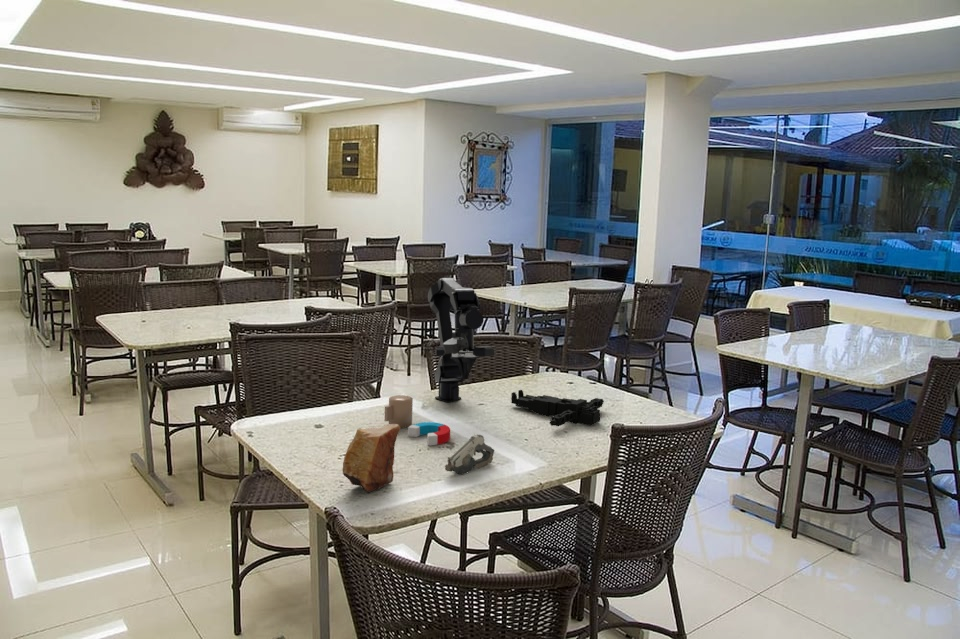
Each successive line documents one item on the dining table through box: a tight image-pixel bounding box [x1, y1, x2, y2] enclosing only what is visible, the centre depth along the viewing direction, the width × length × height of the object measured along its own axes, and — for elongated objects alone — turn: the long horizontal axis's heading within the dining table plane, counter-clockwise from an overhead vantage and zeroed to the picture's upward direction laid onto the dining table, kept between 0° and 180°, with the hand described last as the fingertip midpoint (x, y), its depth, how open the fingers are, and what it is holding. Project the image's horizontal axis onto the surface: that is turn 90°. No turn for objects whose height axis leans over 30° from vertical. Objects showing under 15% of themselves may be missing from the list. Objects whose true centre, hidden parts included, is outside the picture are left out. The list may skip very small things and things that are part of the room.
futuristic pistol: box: [444, 433, 495, 475], centre depth 185 cm, size 2×15×10 cm, turn 134°
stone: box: [342, 423, 401, 493], centre depth 171 cm, size 14×9×15 cm, turn 130°
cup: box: [384, 394, 414, 429], centre depth 216 cm, size 7×9×8 cm
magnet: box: [407, 421, 451, 446], centre depth 208 cm, size 12×3×10 cm
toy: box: [510, 389, 605, 427], centre depth 232 cm, size 31×6×30 cm
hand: (465, 379), depth 227 cm, fingers closed
